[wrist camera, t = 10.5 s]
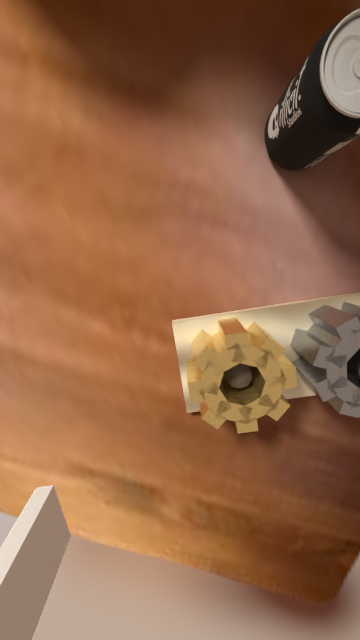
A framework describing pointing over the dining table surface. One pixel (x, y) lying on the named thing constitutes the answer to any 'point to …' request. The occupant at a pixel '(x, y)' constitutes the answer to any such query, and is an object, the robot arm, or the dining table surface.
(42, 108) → the dining table surface
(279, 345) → the brass gear
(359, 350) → the gear
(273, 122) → the beverage can
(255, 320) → the gear board
